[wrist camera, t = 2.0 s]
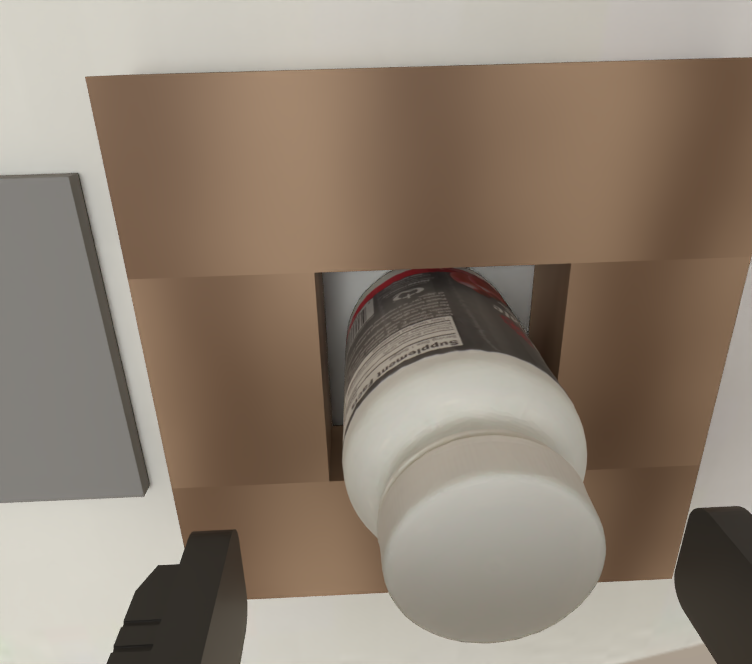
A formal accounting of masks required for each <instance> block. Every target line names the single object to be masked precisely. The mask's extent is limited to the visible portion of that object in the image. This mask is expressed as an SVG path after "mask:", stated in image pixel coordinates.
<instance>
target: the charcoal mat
mask: <svg viewBox="0 0 752 664" xmlns="http://www.w3.org/2000/svg"><path fill="white" fill-rule="evenodd" d="M148 488H149V481H148V477H147V472H146V468H145V464H144V459H143V455H142V451H141V446H140V442H139V438H138V433H137V429H136V424H135V420H134V416H133V411H132V407H131V403H130V398H129V394H128V390H127V385H126V381H125V377H124V372H123V368H122V364H121V359H120V355H119V351H118V346H117V342H116V337H115V333H114V329H113V324H112V320H111V316H110V311H109V307H108V303H107V298H106V294H105V290H104V285H103V281H102V277H101V272H100V268H99V263H98V259H97V255H96V250H95V246H94V242H93V237H92V233H91V229H90V224H89V220H88V216H87V211H86V207H85V203H84V198H83V194H82V190H81V185H80V181H79V176H78V173H68V174H37V175H6V176H0V503H12V502H34V501H56V500H79V499H101V498H123V497H144V496H145V494H146V492H147V490H148Z"/></svg>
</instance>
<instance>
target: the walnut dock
mask: <svg viewBox="0 0 752 664" xmlns="http://www.w3.org/2000/svg"><path fill="white" fill-rule="evenodd" d="M85 78H86V83H87V88H88V93H89V97H90V102H91V107H92V112H93V116H94V121H95V126H96V131H97V135H98V140H99V145H100V150H101V154H102V159H103V164H104V168H105V173H106V178H107V183H108V187H109V192H110V197H111V202H112V206H113V211H114V216H115V221H116V225H117V230H118V235H119V240H120V244H121V249H122V254H123V259H124V263H125V268H126V273H127V278H128V282H129V287H130V292H131V297H132V301H133V306H134V311H135V316H136V320H137V325H138V330H139V335H140V339H141V344H142V349H143V354H144V358H145V363H146V368H147V372H148V377H149V382H150V387H151V391H152V396H153V401H154V406H155V410H156V415H157V420H158V425H159V429H160V434H161V439H162V444H163V448H164V453H165V458H166V463H167V467H168V472H169V477H170V482H171V486H172V491H173V496H174V501H175V505H176V510H177V515H178V520H179V524H180V529H181V534H182V539H183V543H184V548H185V546H186V543H187V540H188V538H189V535H190V534H191V532H193V531H210V530H231V529H236V530H237V532H238V536H239V542H240V549H241V556H242V564H243V571H244V578H245V585H246V592H247V599H266V598H286V597H307V596H327V595H348V594H368V593H388V590H387V587H386V584H385V581H384V576H383V571H382V563H381V552H380V546H379V543H378V538H377V537H376V536H375V535H374V534H373V533H372V532H371V531H370V530H369V529H368V528H367V527H366V526H365V525H364V523H363V522H362V521H361V519H360V518H359V516H358V515H357V513H356V511H355V509H354V508H353V506H352V503H351V501H350V499H349V496H348V493H347V489H346V486H345V481H344V473H343V465H342V449H343V426H344V425H343V426H332V413H331V398H330V383H329V368H328V353H327V338H326V323H325V308H324V293H323V278H322V272H347V271H374V270H402V269H429V268H457V267H485V266H512V265H535V270H534V281H533V292H532V304H531V315H530V326H529V338H530V340H531V341H532V343H533V344H534V346H535V347H536V349H537V350H538V352H539V353H540V355H541V357H542V358H543V360H544V362H545V363H546V365H547V366H548V368H549V369H550V370H551V372H552V373H553V375H554V376H555V377H556V379H557V381H558V382H559V384H560V385H561V387H562V388H563V389H564V390H565V391H566V393H567V395H568V396H569V398H570V399H571V401H572V403H573V404H574V407H575V410H576V412H577V414H578V416H579V418H580V421H581V423H582V426H583V429H584V434H585V439H586V446H587V465H586V472H585V477H584V481H583V483H584V486H585V489H586V491H587V494H588V496H589V498H590V500H591V502H592V504H593V506H594V508H595V510H596V512H597V514H598V516H599V518H600V521H601V524H602V526H603V531H604V535H605V542H606V556H605V561H604V566H603V570H602V573H601V575H600V578H599V580H598V582H613V581H634V580H654V579H672V576H673V572H674V568H675V564H676V560H677V556H678V552H679V548H680V544H681V540H682V536H683V532H684V527H685V523H686V519H687V515H688V511H689V507H690V503H691V499H692V495H693V491H694V487H695V483H696V479H697V475H698V471H699V467H700V463H701V459H702V455H703V451H704V446H705V442H706V438H707V434H708V430H709V426H710V422H711V418H712V414H713V410H714V406H715V402H716V398H717V394H718V390H719V386H720V382H721V378H722V374H723V370H724V365H725V361H726V357H727V353H728V349H729V345H730V341H731V337H732V333H733V329H734V325H735V321H736V317H737V313H738V309H739V305H740V301H741V297H742V293H743V289H744V284H745V280H746V276H747V272H748V268H749V264H750V260H751V256H752V57H750V58H707V59H671V60H636V61H600V62H565V63H529V64H494V65H459V66H423V67H388V68H352V69H317V70H281V71H246V72H210V73H175V74H140V75H113V76H90V77H85Z"/></svg>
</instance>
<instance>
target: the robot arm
mask: <svg viewBox="0 0 752 664" xmlns="http://www.w3.org/2000/svg"><path fill="white" fill-rule="evenodd" d="M674 580H675V589H676V593H677V597H678V600H679V602H680V605H681V607H682V609H683V610H684V612H685V614H686V615H687V617H688V618H689V620H690V622H691V623H692V625H693V626H694V628H695V629H696V631H697V633H698V634H699V636H700V637H701V639H702V641H703V642H704V644H705V645H706V647H707V648H708V650H709V652H710V653H711V655H712V656H713V658H714V659H715V661H716V663H717V664H752V514H751V513H750V512H749V511H747V510H746V509H745V508H742V507H739V506H731V507H711V508H696V509H694V510H693V511H692V512H691V513H690V515H689V518H688V522H687V526H686V530H685V534H684V538H683V542H682V545H681V549H680V553H679V557H678V561H677V565H676V569H675V576H674ZM246 624H247V592H246V585H245V578H244V571H243V564H242V556H241V549H240V542H239V536H238V532H237V530H236V529H231V530H210V531H193V532H191V534H190V535H189V538H188V540H187V543H186V546H185V549H184V552H183V555H182V559H181V562H180V564H176V565H158V566H157V567H156V568H155V569H154V571H153V572H152V573H151V574H150V575H149V576H148V577H147V579H146V580H145V581H144V582H143V583H142V584H141V585H140V587H139V588H138V589H137V590H136V591H135V594H134V596H133V599H132V601H131V604H130V606H129V609H128V611H127V614H126V616H125V619H124V625H123V627H121V629H120V631H119V634H118V636H117V639H116V641H115V644H114V650H113V653H111V654H110V657H109V659H108V662H107V664H240V662H241V656H242V650H243V644H244V639H245V633H246Z"/></svg>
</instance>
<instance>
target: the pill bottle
mask: <svg viewBox="0 0 752 664" xmlns="http://www.w3.org/2000/svg"><path fill="white" fill-rule="evenodd" d="M343 418H344V420H343V425H344V426H343V449H342V465H343V473H344V481H345V486H346V489H347V493H348V496H349V499H350V501H351V503H352V506H353V508H354V509H355V511H356V513H357V515H358V516H359V518H360V519H361V521H362V522H363V523H364V525H365V526H366V527H367V528H368V529H369V530H370V531H371V532H372V533H373V534H374V535H375V536H376V537H377V538H378V543H379V546H380V552H381V563H382V571H383V576H384V581H385V584H386V587H387V590H388V592H389V594H390V596H391V598H392V599H393V601H394V603H395V604H396V606H397V607H398V608H399V609H400V610H401V612H402V613H403V614H404V615H405V616H406V617H407V618H408V619H410V620H411V621H412V622H413V623H415V624H416V625H418V626H420V627H421V628H423V629H425V630H427V631H429V632H431V633H433V634H436V635H438V636H441V637H444V638H447V639H451V640H456V641H460V642H471V643H496V642H503V641H510V640H516V639H519V638H523V637H526V636H528V635H531V634H535V633H538V632H540V631H542V630H544V629H546V628H548V627H550V626H552V625H554V624H556V623H557V622H559V621H560V620H562V619H563V618H565V617H566V616H567V615H568V614H570V613H571V612H573V611H574V610H575V609H576V608H577V607H578V606H579V605H580V604H581V603H582V602H583V601H584V600H585V599H586V598H587V597H588V595H589V594H590V593H591V591H592V590H593V588H594V587H595V585H596V584H597V582H598V580H599V578H600V575H601V573H602V570H603V566H604V561H605V556H606V542H605V535H604V531H603V526H602V524H601V521H600V518H599V516H598V514H597V512H596V510H595V508H594V506H593V504H592V502H591V500H590V498H589V496H588V494H587V491H586V489H585V486H584V483H583V481H584V477H585V472H586V465H587V446H586V439H585V434H584V429H583V426H582V423H581V421H580V418H579V416H578V414H577V412H576V410H575V407H574V404H573V403H572V401H571V399H570V398H569V396H568V395H567V393H566V391H565V390H564V389H563V388H562V387H561V385H560V384H559V382H558V381H557V379H556V377H555V376H554V375H553V373H552V372H551V370H550V369H549V368H548V366H547V365H546V363H545V362H544V360H543V358H542V357H541V355H540V353H539V352H538V350H537V349H536V347H535V346H534V344H533V343H532V341H531V340H530V338H529V337H528V335H527V334H526V332H525V331H524V329H523V328H522V326H521V325H520V323H519V321H518V320H517V318H516V317H515V316H514V314H513V313H512V311H511V309H510V308H509V306H508V305H507V304H506V302H505V301H504V300H503V298H502V297H501V295H500V294H499V293H498V291H497V290H496V289H495V288H494V287H493V286H492V285H491V284H490V283H489V282H488V281H487V280H486V279H484V278H483V277H482V276H480V275H479V274H477V273H475V272H473V271H471V270H470V269H467V268H465V267H457V268H429V269H402V270H393V271H391V272H389V273H388V274H386V275H385V276H383V277H382V278H380V279H379V280H378V281H377V282H376V283H374V284H373V285H372V286H371V287H370V288H369V289H368V290H367V291H366V292H365V293H364V294H363V296H362V297H361V298H360V300H359V301H358V303H357V305H356V306H355V308H354V310H353V313H352V315H351V318H350V321H349V325H348V331H347V338H346V354H345V383H344V415H343Z"/></svg>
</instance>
